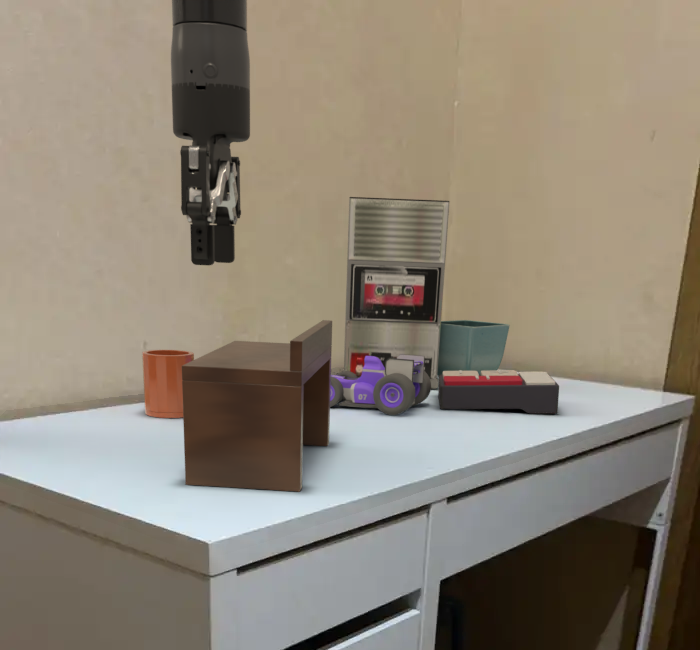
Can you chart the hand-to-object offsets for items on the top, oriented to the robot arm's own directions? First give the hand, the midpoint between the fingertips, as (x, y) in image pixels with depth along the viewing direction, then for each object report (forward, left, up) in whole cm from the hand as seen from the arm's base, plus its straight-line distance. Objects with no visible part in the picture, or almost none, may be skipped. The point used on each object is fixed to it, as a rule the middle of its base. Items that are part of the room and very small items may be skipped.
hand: (213, 263), depth 97 cm
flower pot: (+28, +43, -17) cm, 54 cm away
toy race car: (+15, +20, -17) cm, 30 cm away
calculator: (+32, +26, -17) cm, 45 cm away
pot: (-7, +8, -17) cm, 20 cm away
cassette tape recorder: (+17, +39, -17) cm, 46 cm away
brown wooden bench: (+8, -14, -17) cm, 24 cm away
